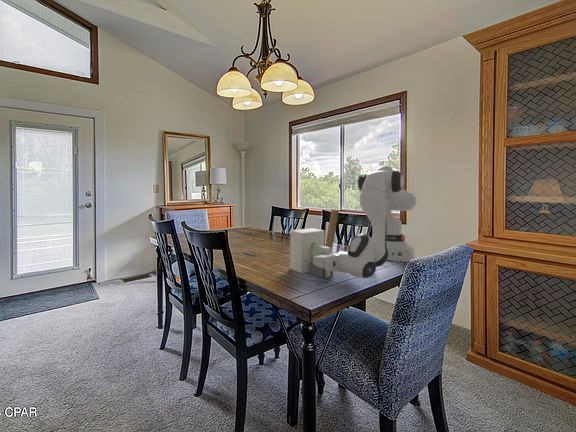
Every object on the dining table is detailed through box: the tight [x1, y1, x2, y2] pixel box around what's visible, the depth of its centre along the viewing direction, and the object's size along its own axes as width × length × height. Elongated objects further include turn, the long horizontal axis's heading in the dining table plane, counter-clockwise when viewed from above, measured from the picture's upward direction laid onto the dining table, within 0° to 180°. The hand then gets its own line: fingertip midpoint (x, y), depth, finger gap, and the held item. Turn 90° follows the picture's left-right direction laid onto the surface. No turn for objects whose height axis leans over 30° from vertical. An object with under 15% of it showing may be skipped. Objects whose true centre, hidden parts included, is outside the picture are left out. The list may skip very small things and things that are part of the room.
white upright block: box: [313, 244, 332, 279], centre depth 149 cm, size 10×4×14 cm, turn 33°
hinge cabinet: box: [289, 227, 334, 279], centre depth 154 cm, size 22×14×20 cm, turn 33°
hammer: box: [324, 209, 340, 252], centre depth 174 cm, size 20×5×30 cm, turn 46°
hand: (322, 255), depth 148 cm, fingers open, 8 cm apart
